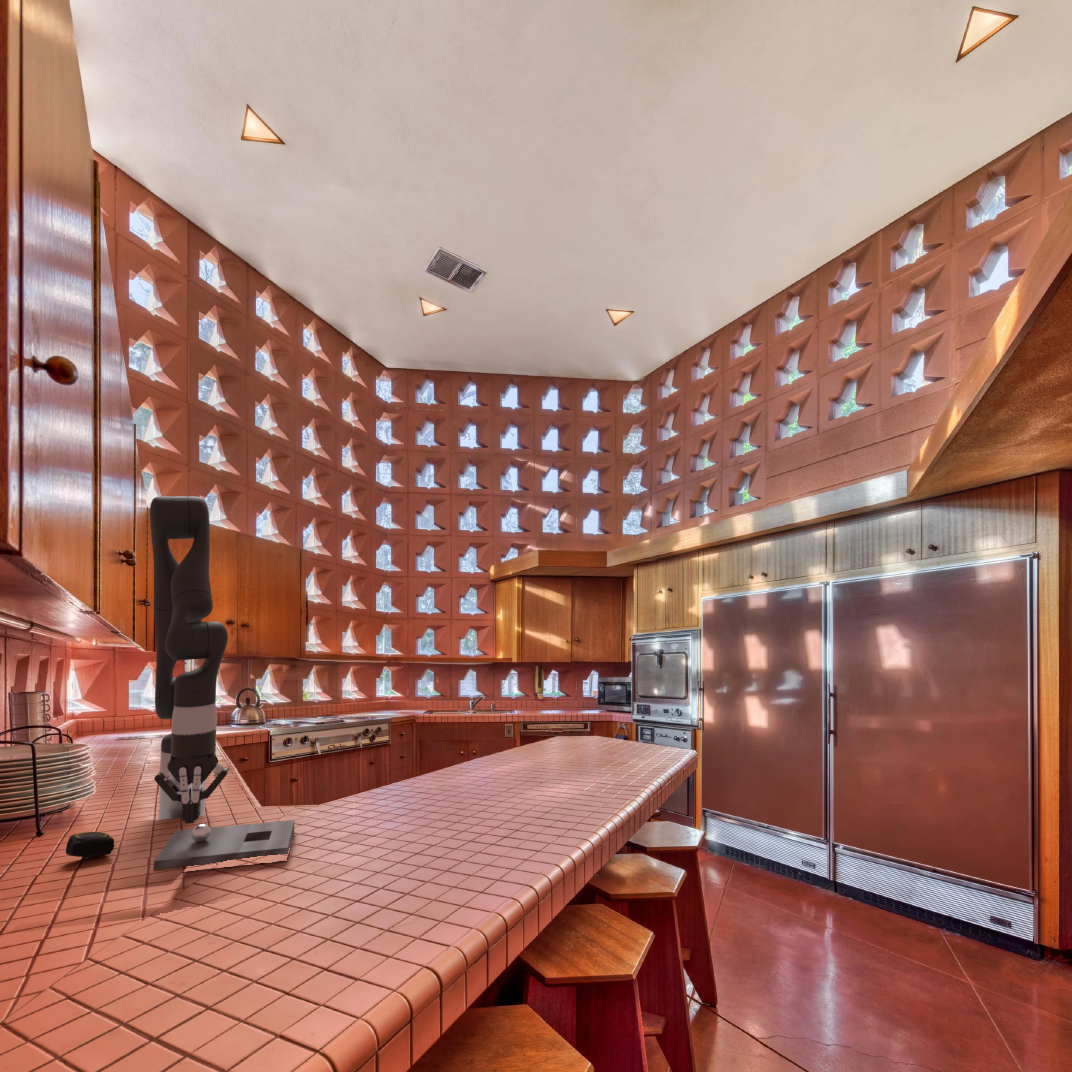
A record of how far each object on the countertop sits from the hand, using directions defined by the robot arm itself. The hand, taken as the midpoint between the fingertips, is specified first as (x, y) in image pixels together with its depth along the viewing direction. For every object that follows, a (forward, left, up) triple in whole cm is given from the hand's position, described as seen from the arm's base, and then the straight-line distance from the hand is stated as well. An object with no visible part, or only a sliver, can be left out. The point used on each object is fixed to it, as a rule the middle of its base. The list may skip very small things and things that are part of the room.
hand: (191, 821), depth 122 cm
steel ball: (0, +2, -2) cm, 3 cm away
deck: (+2, +6, -6) cm, 9 cm away
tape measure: (-7, -17, -6) cm, 19 cm away
